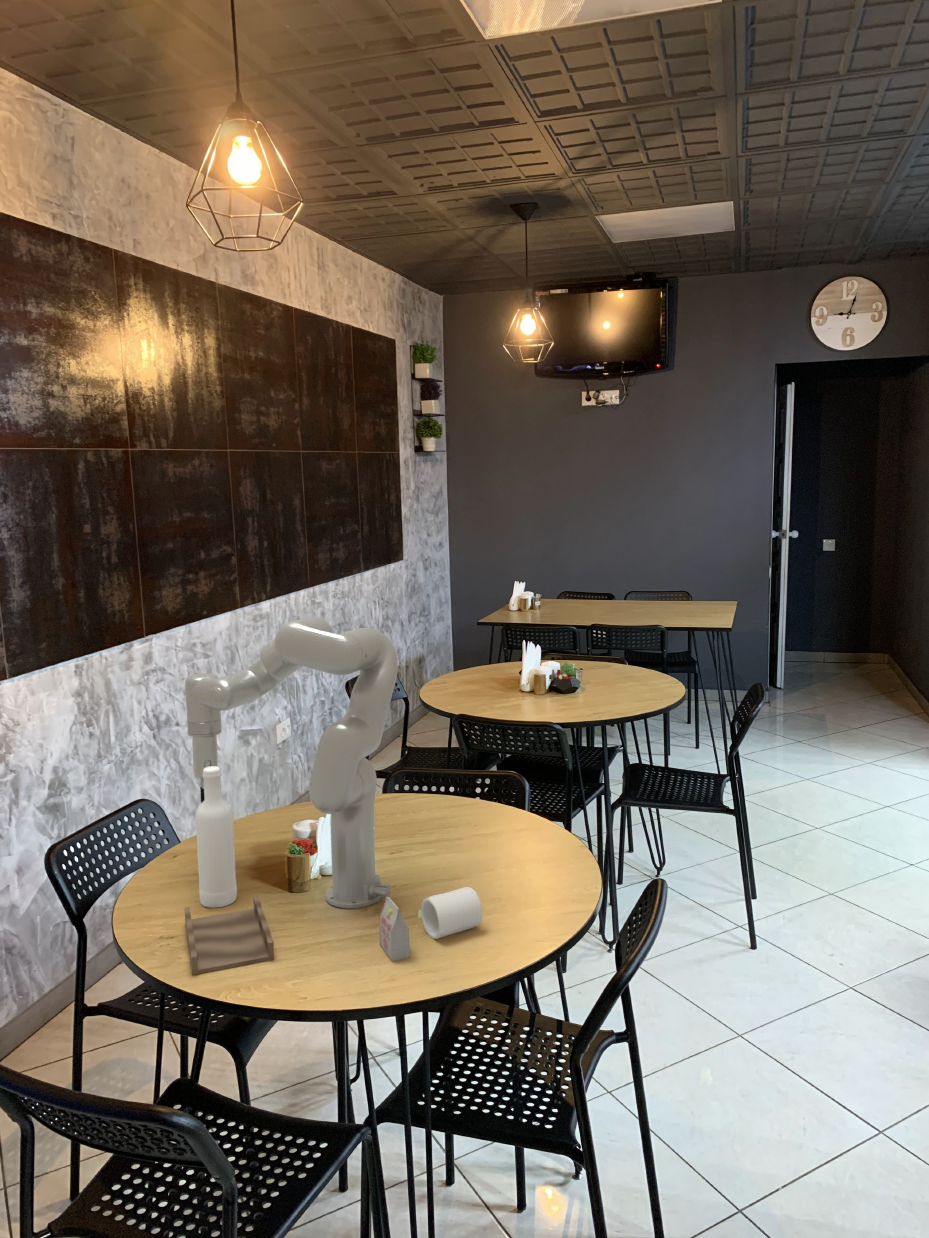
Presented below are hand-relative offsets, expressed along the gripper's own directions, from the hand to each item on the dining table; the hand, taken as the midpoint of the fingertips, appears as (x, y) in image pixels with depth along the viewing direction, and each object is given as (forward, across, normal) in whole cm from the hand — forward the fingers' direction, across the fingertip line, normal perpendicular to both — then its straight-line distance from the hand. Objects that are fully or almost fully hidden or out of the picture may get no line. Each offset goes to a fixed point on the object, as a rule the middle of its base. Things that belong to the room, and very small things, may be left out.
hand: (208, 803), depth 206 cm
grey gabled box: (+17, +52, +30) cm, 62 cm away
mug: (+17, +46, +43) cm, 65 cm away
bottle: (+18, +15, 0) cm, 23 cm away
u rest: (+17, +35, 0) cm, 39 cm away
